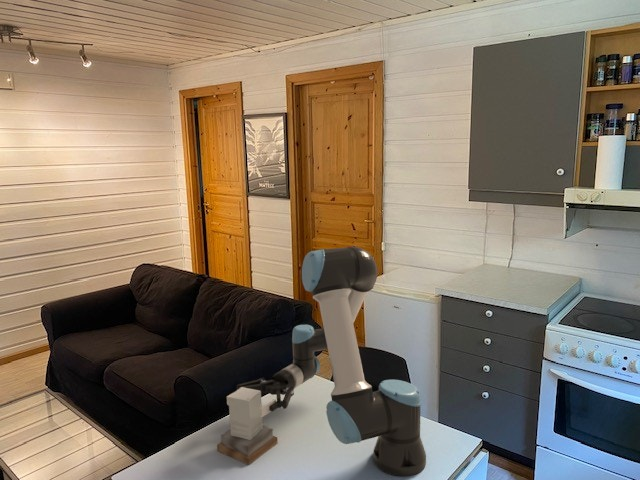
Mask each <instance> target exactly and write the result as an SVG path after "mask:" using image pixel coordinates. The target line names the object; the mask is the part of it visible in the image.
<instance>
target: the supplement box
mask: <svg viewBox="0 0 640 480" xmlns="http://www.w3.org/2000/svg"><path fill="white" fill-rule="evenodd" d="M236 390H237V389H236ZM236 390H235V391H236ZM235 391H233V392H234V393H233V392H232V393H233V394H232V393H231V394H232V395H231V396H229V395H228V396H229V397H228V399H229V405H228V409H229V410H228V412H229V425H230V429H231V436H235V437H240V438H244V439H248V440H251V439H252V438H254V437H255V436H256V435H257V434H258V433H259V432H260V431H261V430H262V429H263V426H264V425H263V421H264V420H263V417H260V408H261V407H263V405H262V404H263V403H262V393H261V391H260V390H254V389H249V388H244V387H241V388H240V389H238V390H237V391H236V392H235Z"/></svg>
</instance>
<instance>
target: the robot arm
mask: <svg viewBox="0 0 640 480" xmlns="http://www.w3.org/2000/svg"><path fill="white" fill-rule="evenodd" d="M301 267H302V268H301V281H302V285H303V288H304V290H305V291H306V292H311V295H312V299H313V300H315V301H316V302H317V303H318V305H319V310H320V314H321V320H322V324H323V325H322V326H323V327H322V328H317V329H315V328H314V327H313V326H312V325H310V324H299V325H296V326H294V327H293V329H292V334H291V335H292V338H291V342H292V343H291V344H292V359H293V360H292V363H291V364H289V365H288V366H286V367H284V368H282V369H281V370H280V371H277V372H276V373H274V374H273V376H272V377H271V379H269V380H268V379H267V380H265V377H261V378H258V379H254V380H250V381H247V382H243V383H238V384H236V390H235V391H233V392H232V393H230V394H229V395H227V396H226V404H227V406H229V399H228V397H229V396H231V395H232V394H233V393H234V392H236V391H237V390H238V389H240V388H241V387H244V388H249V389H254V390H260V391H261V395H262V394H269V395H272V396H274V395H275V396H276V399H272V400H270V401H268V402H267V403H266V404H264V405H262V407H261V408H260V417H262V418H263V417H266V416H267V415H268V414H270V413H271V412H275V411H276V410H277V409H280V408H282V409H285V410H286V409H288V406H289V403H290V401H291V398H292V397H293V396H295V389H296V388H297V387H299V386H301V385H303V384H304V383H305V382H307V381H308V380H310V379H312V378H314V377H315V376H316V375H317V374H318V373H319V372H320V370H321V363H320V360H319V358H318V357H317V356H316V355H315V352H320V351H324V350H327V351H328V357H329V362H330V367H331V369H330V370H331V374H332V378H333V385H334V388H333V389H332V391H331V393H330V397H331V400H330V401H329V402H327V404H326V412H325V413H326V416H327V421H328V425H329V427H330V429H331V431H332V433H333V435H334V436H335V438H336V439H337V440H338V441H339V442H340V443H342V444H344V445H350V444H354V443H361V442H363V441H366V440H370V439H374V438H377V439H376V442H375V445H374V448H373V452H372V453H373V454H372V455H373V463H374V465H375V466H376V467H377V468H378V469H379V470H380V471H382V472H384V473H386V474H388V475H391V476H396V477H407V476H408V477H410V476H413V475H416V474H417V475H418V474H419V473H420V472H422V471H423V470H424V469H425V468H426V465H427V454H426V450H425V446H424V444H423V441H422V437H421V411H422V410H421V407H422V402H421V400H422V399H421V392H420V390H419V388H418V387H416V386H415V385H414V384H412V383H410V382H408V381H404V380H400V379H385V380H382V381H381V382H380V383H379V385H378V390H375V391H373V386H372V385H371V384H369V383H368V382H367V381H366V380H365V374H364V370H363V364H362V359H361V355H360V349H359V346H358V340H357V335H356V330H355V326H354V323H355V320H356V318H357V317H358V315H359V312H360V310H361V307H362V305H363V303H364V301H365V299H366V297H367V295H368V293H369V292H371V291H372V290H373V289H374V287H375V285H376V282H377V279H378V267H377V263H376V261H375V258H374V257H373V256H372V255H371V254H370V253H369V252H368V251H367V250H366V249H363V248H362V247H358V246H347V247H336V248H334V247H333V248H321V249H316V250H312V251H311V250H310V251H309V252H307V254H306V255H305V256H304V258H303V262H302V266H301ZM281 395H283V399H281Z"/></svg>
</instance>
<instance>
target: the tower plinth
mask: <svg viewBox="0 0 640 480" xmlns="http://www.w3.org/2000/svg"><path fill="white" fill-rule="evenodd" d="M273 430H274V429H273V428H271V427H269V426H266V425H263V429H262V430H261V431H260V432H259V433H258V434H257V435H256V436H255V437H254V438H252V439H251V440H248V439H244V438H240V437H235V436H231V428H230V429H228V430H226V432H224V433H222V434H221V435H220V436H221V437H220V438H221V439H220V440H221V442H219V443H218V444H216V449H217V450H216V451H217V452H219V453H221V454H224V455H225V456H227V457H231V458H233V459H234V460H237V461H239V462H242V463H244V464H246V465H248V466H250V465H251V464H253V463H254V462H255V461H256V460H258V459H259V458H260V457H262V456H263V455H264V454H266V453H267V452H268V451H270V450H271V449H273V447H275V446H276V445H277V444H278V437H277V436H275V435H273V432H274V431H273Z"/></svg>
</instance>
